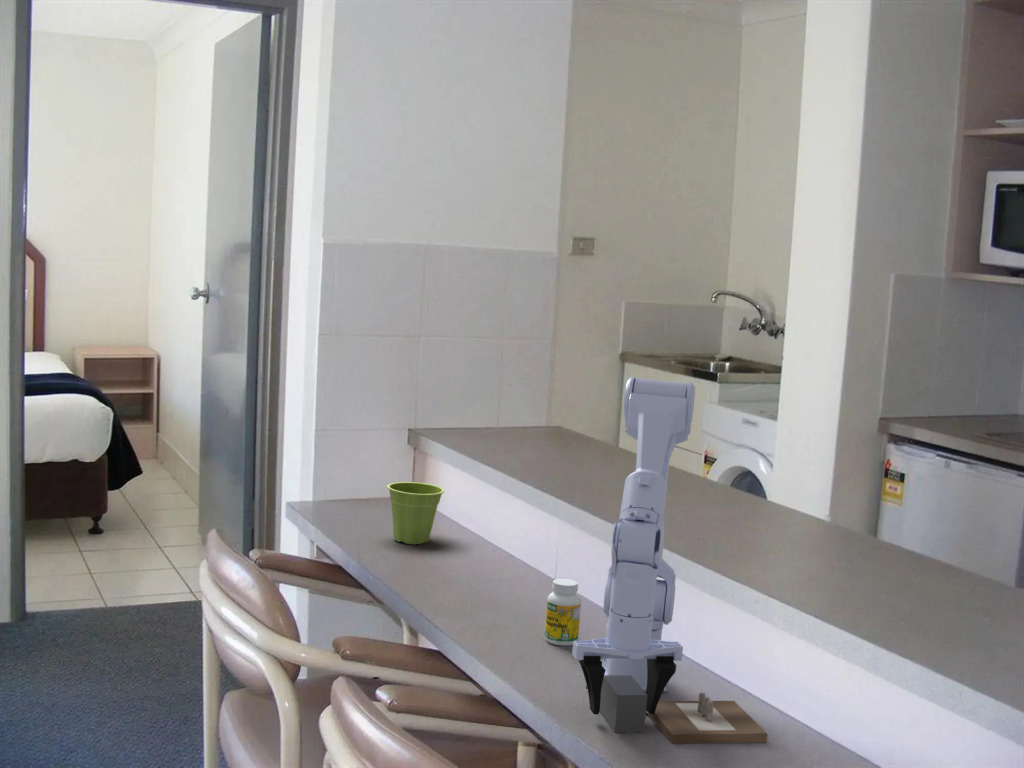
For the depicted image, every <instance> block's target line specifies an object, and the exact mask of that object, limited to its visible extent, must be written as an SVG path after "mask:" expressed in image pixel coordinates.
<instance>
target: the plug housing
mask: <svg viewBox="0 0 1024 768" xmlns="http://www.w3.org/2000/svg"><path fill="white" fill-rule="evenodd" d="M647 696H648V695H647V694H646V691H644V690H643V689H642V688H641V687H640V686H639V684H638V683H637V682H636V681H635V680H634V679H633V677H632V676H631V675H604V678H603V683H602V688H601V700H600V711H599V714H600V715H601V716H602V717H603V719H604V720H605V722H606V723H607V724H608V726H609V727H610V728H611V730H612V732H613V733H614V734H615V733H617V734H619V733H620V734H621V733H622V734H623V733H631V734H632V733H645V726H646V716H647V715H646V707H647Z"/></svg>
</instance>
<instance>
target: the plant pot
mask: <svg viewBox="0 0 1024 768" xmlns="http://www.w3.org/2000/svg"><path fill="white" fill-rule="evenodd" d="M386 488H387V489H388V490H389V496H390V497H389V498H390V501H391V512H392V514H391V515H392V526H393V528H392V529H393V540H395V541H396V542H398V543H400V542H403V543H404V544H407V545H416V544H418V545H423V544H425V543H428V542H429V541H430V538H431V537H430V536H431V534H432V529H433V526H434V521H435V517H436V513H437V509H438V506H439V504H440V500H441V497H442V494H444V493H445V489H444V488H442V487H440V486H439V485H435V484H430V483H425V482H414V481H399V482H397V481H396V482H392V483H389V484H387V486H386ZM422 543H423V544H422Z"/></svg>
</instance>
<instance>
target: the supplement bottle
mask: <svg viewBox="0 0 1024 768" xmlns="http://www.w3.org/2000/svg"><path fill="white" fill-rule="evenodd" d="M578 588H579V582H577V581H575V580H573V579H570V578H568V579H566V578H557V579H554V580H553V581H552V586H551V589H552V592H551V593H550V594H549V595H547V600H546V613H545V623H544V639H545V641H546V642H547V643H549V644H550V645H553V646H554V645H555V646H562V647H564V646H565V647H567V646H569V647H570V646H573V641H579V633H580V617H581V609H582V608H581V607H582V599H581V597H580V596H579V595H578V590H579V589H578Z"/></svg>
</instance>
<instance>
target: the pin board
mask: <svg viewBox="0 0 1024 768" xmlns="http://www.w3.org/2000/svg"><path fill="white" fill-rule="evenodd" d="M646 711H647V710H646ZM647 712H648V711H647ZM648 713H649V712H648ZM648 717H649V718H650V719H651V720H652V721H653V723H654V722H655V723H654V724H655V725H656V727H657V728H658V729H659V730H660V732H662V734H663V735H664V736H665V737H666V738H667V741H669V742H670V744H729V743H730V744H732V743H733V744H734V743H735V744H737V743H738V744H739V743H742V744H743V743H745V744H747V743H751V744H752V743H767V741H768V740H767V739H768V732H767V731H766V730H765V729H763V727H762V726H760V724H758V722H756V721H755V720H754V719H753V718H752V716H750V715H749V714H748V713H747V712H746V711H745V710H744V709H743V708H742V707H741V706H740V705H739V704H738V703H737V702H736V701H735V700H710V697H708V696H706V693H705V692H699V693H698V700H659V702H658V704H657V707H656V710H655V714H649V716H648Z"/></svg>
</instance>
